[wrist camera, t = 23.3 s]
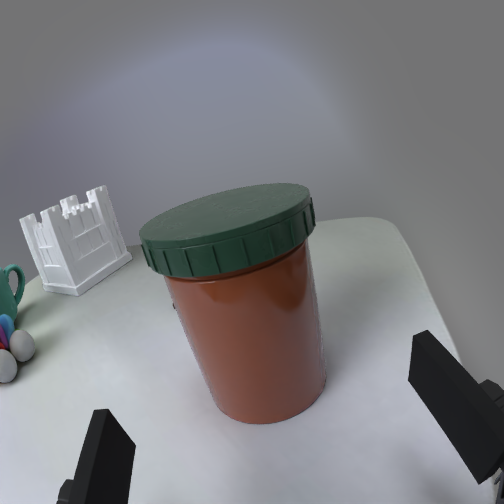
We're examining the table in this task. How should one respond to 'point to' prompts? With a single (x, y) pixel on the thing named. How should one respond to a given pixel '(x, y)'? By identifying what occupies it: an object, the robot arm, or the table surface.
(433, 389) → the robot arm
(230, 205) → the lid
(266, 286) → the jar
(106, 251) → the castle model
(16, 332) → the rainbow fan wheeled toy
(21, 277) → the mug
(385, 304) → the table surface
